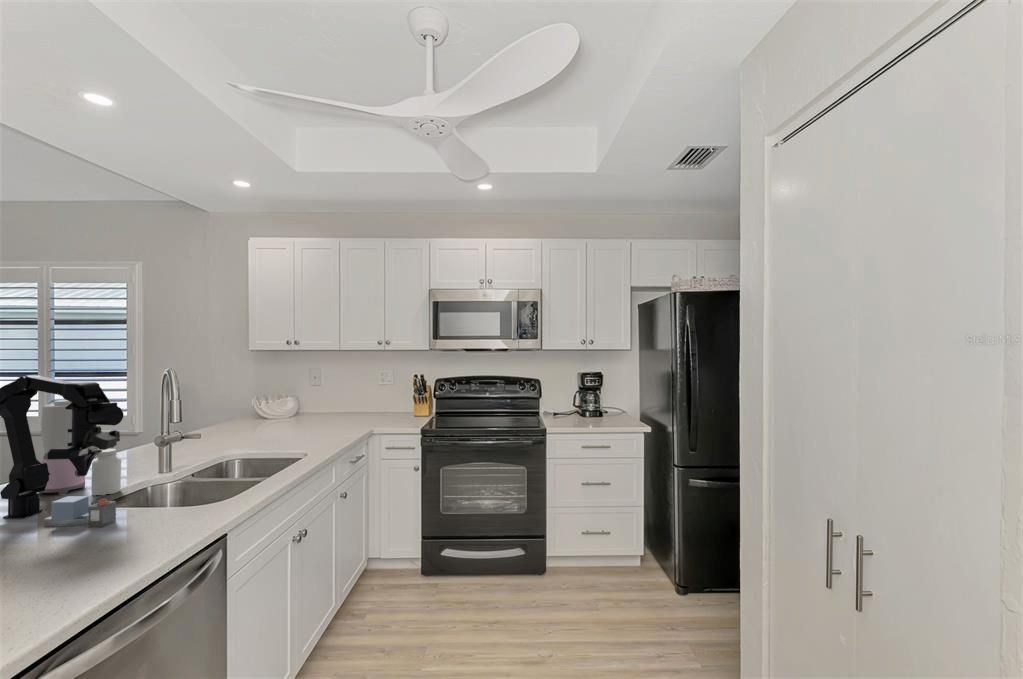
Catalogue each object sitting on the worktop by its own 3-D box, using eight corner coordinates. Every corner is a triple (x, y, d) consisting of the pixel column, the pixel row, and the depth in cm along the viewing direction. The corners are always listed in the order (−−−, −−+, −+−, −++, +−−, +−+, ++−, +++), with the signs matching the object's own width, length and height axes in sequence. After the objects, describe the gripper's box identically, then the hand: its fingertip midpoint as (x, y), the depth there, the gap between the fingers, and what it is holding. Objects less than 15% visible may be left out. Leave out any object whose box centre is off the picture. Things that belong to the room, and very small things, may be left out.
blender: (27, 495, 168) (29, 402, 168) (60, 485, 180) (62, 398, 180) (73, 496, 168) (74, 403, 168) (103, 486, 180) (104, 399, 180)
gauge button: (96, 517, 143) (96, 500, 143) (101, 515, 145) (101, 498, 145) (103, 517, 143) (103, 500, 143) (108, 515, 145) (108, 498, 145)
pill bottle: (104, 497, 168) (104, 453, 168) (85, 495, 170) (85, 452, 170) (126, 490, 176) (127, 448, 176) (108, 488, 177) (108, 447, 177)
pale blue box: (51, 519, 141) (51, 502, 141) (67, 512, 146) (67, 496, 146) (73, 519, 141) (73, 502, 141) (88, 512, 147) (88, 496, 147)
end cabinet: (87, 527, 141) (87, 507, 141) (101, 521, 147) (102, 501, 147) (102, 527, 142) (102, 507, 142) (115, 521, 147) (115, 501, 147)
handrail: (43, 525, 142) (43, 519, 142) (50, 522, 145) (51, 516, 145) (90, 525, 143) (90, 519, 143) (96, 522, 145) (96, 516, 145)
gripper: (86, 430, 139) (86, 485, 139) (134, 419, 158) (133, 467, 158) (45, 430, 139) (45, 485, 139) (98, 419, 157) (97, 467, 157)
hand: (83, 475), depth 148 cm, fingers closed
